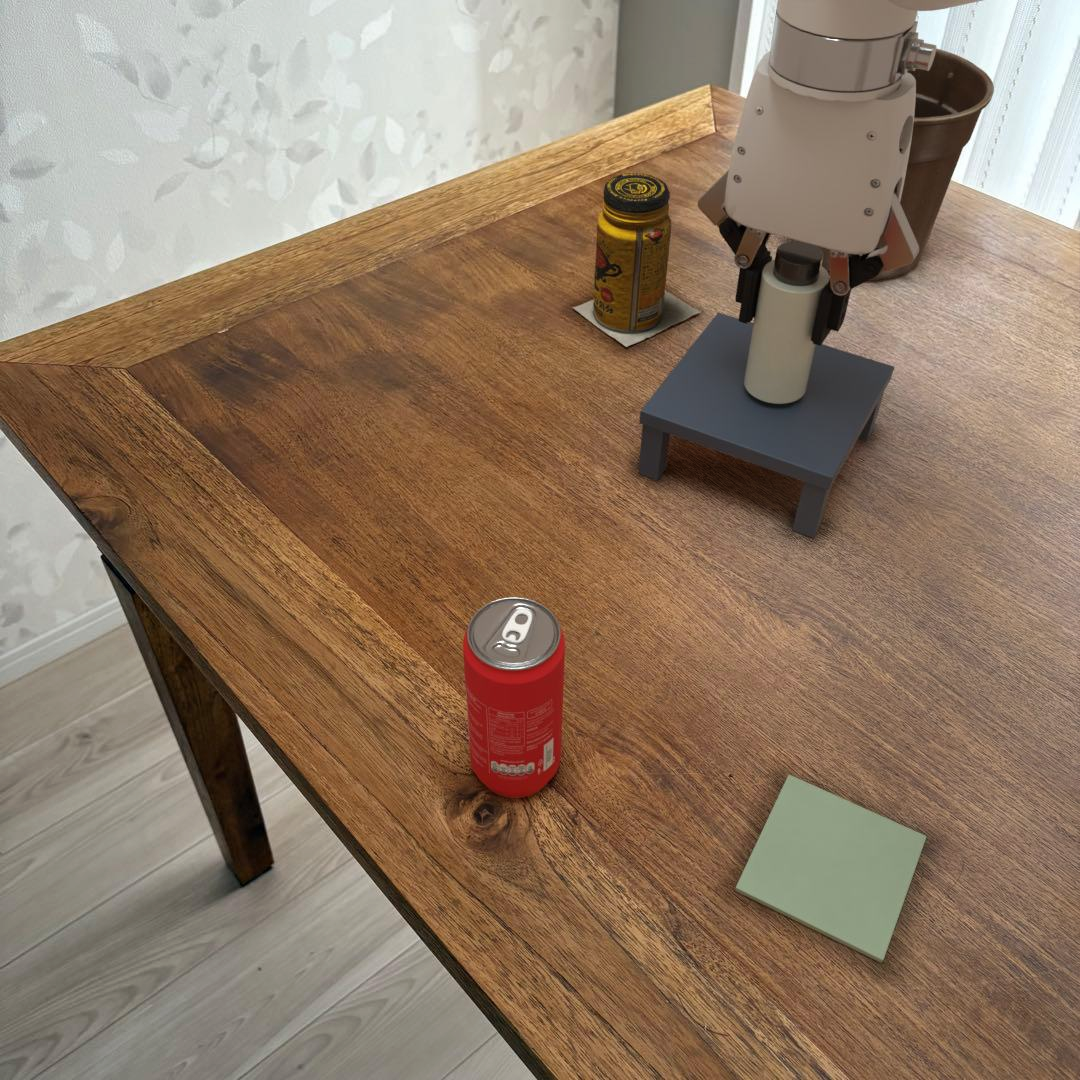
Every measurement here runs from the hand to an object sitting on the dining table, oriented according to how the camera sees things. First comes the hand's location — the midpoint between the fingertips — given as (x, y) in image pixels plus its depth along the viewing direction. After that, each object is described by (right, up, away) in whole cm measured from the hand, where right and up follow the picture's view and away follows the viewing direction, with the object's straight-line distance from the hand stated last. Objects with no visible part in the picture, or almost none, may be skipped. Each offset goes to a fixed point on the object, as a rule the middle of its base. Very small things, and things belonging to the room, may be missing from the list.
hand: (786, 321), depth 75 cm
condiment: (-8, +5, +22) cm, 24 cm away
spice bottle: (0, -4, +4) cm, 5 cm away
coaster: (-1, -32, -15) cm, 36 cm away
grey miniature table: (0, -8, +9) cm, 12 cm away
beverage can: (-18, -28, -11) cm, 35 cm away
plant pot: (+13, +13, +29) cm, 35 cm away
